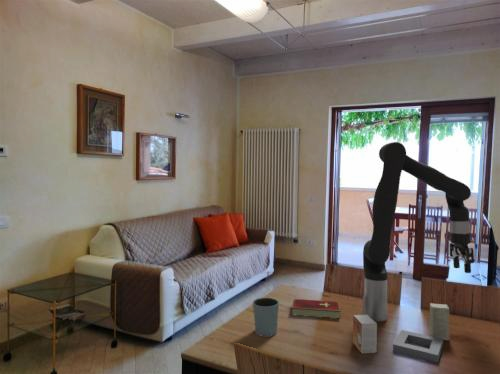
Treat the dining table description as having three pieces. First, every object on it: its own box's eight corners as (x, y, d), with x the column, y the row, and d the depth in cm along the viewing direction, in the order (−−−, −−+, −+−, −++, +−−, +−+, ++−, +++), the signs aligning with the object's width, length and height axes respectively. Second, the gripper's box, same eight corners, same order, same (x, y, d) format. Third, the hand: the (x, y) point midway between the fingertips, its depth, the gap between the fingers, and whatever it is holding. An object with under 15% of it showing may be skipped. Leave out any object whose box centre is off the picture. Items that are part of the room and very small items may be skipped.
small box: (352, 343, 132) (352, 314, 132) (367, 342, 133) (367, 314, 132) (361, 354, 124) (361, 323, 124) (376, 353, 125) (377, 323, 125)
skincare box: (447, 336, 138) (447, 304, 138) (449, 341, 134) (449, 308, 133) (428, 333, 140) (429, 302, 140) (430, 338, 136) (431, 306, 135)
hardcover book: (293, 306, 170) (293, 298, 170) (339, 309, 166) (339, 300, 166) (291, 316, 159) (291, 307, 158) (340, 320, 155) (340, 310, 154)
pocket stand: (392, 351, 126) (393, 344, 126) (401, 336, 138) (401, 329, 138) (438, 362, 118) (438, 355, 118) (442, 345, 130) (442, 339, 130)
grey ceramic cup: (282, 329, 144) (282, 299, 144) (273, 339, 135) (273, 308, 135) (259, 325, 149) (259, 296, 148) (248, 334, 139) (248, 304, 139)
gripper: (442, 230, 159) (444, 267, 159) (460, 234, 144) (462, 274, 144) (460, 229, 158) (462, 266, 158) (479, 233, 144) (481, 274, 144)
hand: (462, 270), depth 151 cm, fingers open, 8 cm apart
